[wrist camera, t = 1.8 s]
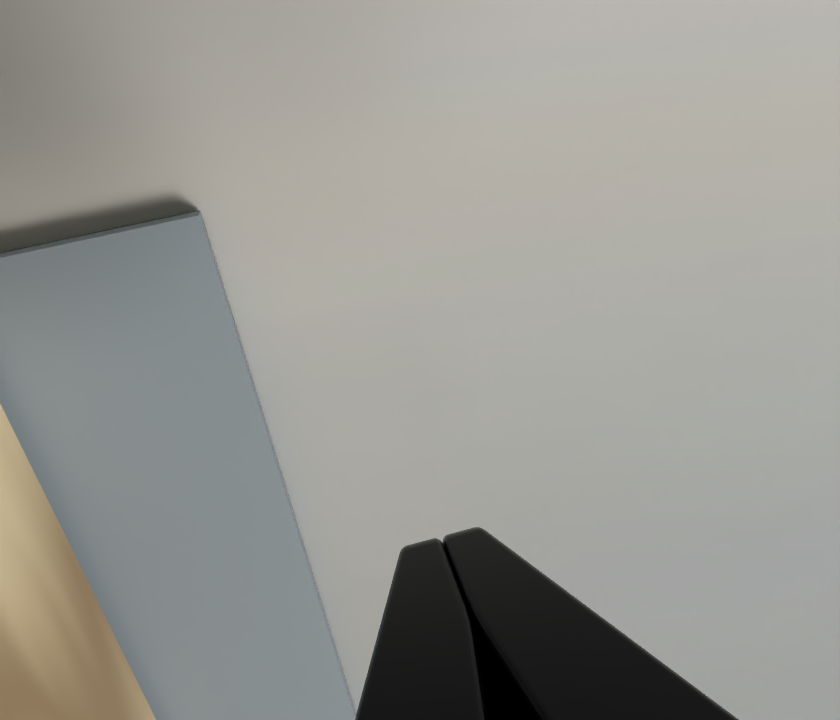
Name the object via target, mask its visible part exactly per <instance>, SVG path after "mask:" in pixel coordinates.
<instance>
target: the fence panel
mask: <svg viewBox="0 0 840 720" xmlns="http://www.w3.org/2000/svg"><path fill="white" fill-rule="evenodd" d="M0 720H156V718H155V716H154V714H153V712H152V710H151V708H150V706H149V704H148V702H147V700H146V698H145V696H144V694H143V692H142V690H141V688H140V686H139V684H138V682H137V680H136V678H135V676H134V674H133V672H132V670H131V668H130V666H129V664H128V662H127V660H126V658H125V656H124V654H123V652H122V650H121V647H120V645H119V643H118V641H117V639H116V637H115V635H114V633H113V631H112V629H111V627H110V625H109V623H108V621H107V619H106V617H105V615H104V613H103V611H102V609H101V607H100V605H99V603H98V601H97V599H96V597H95V595H94V593H93V591H92V589H91V587H90V585H89V583H88V581H87V578H86V576H85V574H84V572H83V570H82V568H81V566H80V564H79V562H78V560H77V558H76V556H75V554H74V552H73V550H72V548H71V546H70V544H69V542H68V540H67V538H66V536H65V534H64V532H63V530H62V528H61V526H60V524H59V522H58V520H57V518H56V516H55V514H54V512H53V510H52V507H51V505H50V503H49V501H48V499H47V497H46V495H45V493H44V491H43V489H42V487H41V485H40V483H39V481H38V479H37V477H36V475H35V473H34V471H33V469H32V467H31V465H30V463H29V461H28V459H27V457H26V455H25V453H24V451H23V449H22V447H21V445H20V443H19V441H18V439H17V436H16V434H15V432H14V430H13V428H12V426H11V424H10V422H9V420H8V418H7V416H6V414H5V412H4V410H3V408H2V406H1V404H0Z"/></svg>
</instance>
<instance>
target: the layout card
mask: <svg viewBox="0 0 840 720" xmlns="http://www.w3.org/2000/svg"><path fill="white" fill-rule="evenodd" d="M0 404H1V406H2V408H3V410H4V412H5V414H6V416H7V418H8V420H9V422H10V424H11V426H12V428H13V430H14V432H15V434H16V436H17V439H18V441H19V443H20V445H21V447H22V449H23V451H24V453H25V455H26V457H27V459H28V461H29V463H30V465H31V467H32V469H33V471H34V473H35V475H36V477H37V479H38V481H39V483H40V485H41V487H42V489H43V491H44V493H45V495H46V497H47V499H48V501H49V503H50V505H51V507H52V510H53V512H54V514H55V516H56V518H57V520H58V522H59V524H60V526H61V528H62V530H63V532H64V534H65V536H66V538H67V540H68V542H69V544H70V546H71V548H72V550H73V552H74V554H75V556H76V558H77V560H78V562H79V564H80V566H81V568H82V570H83V572H84V574H85V576H86V578H87V581H88V583H89V585H90V587H91V589H92V591H93V593H94V595H95V597H96V599H97V601H98V603H99V605H100V607H101V609H102V611H103V613H104V615H105V617H106V619H107V621H108V623H109V625H110V627H111V629H112V631H113V633H114V635H115V637H116V639H117V641H118V643H119V645H120V647H121V650H122V652H123V654H124V656H125V658H126V660H127V662H128V664H129V666H130V668H131V670H132V672H133V674H134V676H135V678H136V680H137V682H138V684H139V686H140V688H141V690H142V692H143V694H144V696H145V698H146V700H147V702H148V704H149V706H150V708H151V710H152V712H153V714H154V716H155V718H156V720H355V718H356V712H355V709H354V706H353V703H352V699H351V696H350V693H349V690H348V687H347V683H346V680H345V677H344V674H343V670H342V667H341V664H340V661H339V657H338V654H337V651H336V648H335V645H334V641H333V638H332V635H331V632H330V628H329V625H328V622H327V619H326V615H325V612H324V609H323V606H322V603H321V599H320V596H319V593H318V590H317V586H316V583H315V580H314V577H313V573H312V570H311V567H310V564H309V561H308V557H307V554H306V551H305V548H304V544H303V541H302V538H301V535H300V531H299V528H298V525H297V522H296V519H295V515H294V512H293V509H292V506H291V502H290V499H289V496H288V493H287V489H286V486H285V483H284V480H283V477H282V473H281V470H280V467H279V464H278V460H277V457H276V454H275V451H274V447H273V444H272V441H271V438H270V435H269V431H268V428H267V425H266V422H265V418H264V415H263V412H262V409H261V405H260V402H259V399H258V396H257V393H256V389H255V386H254V383H253V380H252V376H251V373H250V370H249V367H248V364H247V360H246V357H245V354H244V351H243V347H242V344H241V341H240V338H239V334H238V331H237V328H236V325H235V322H234V318H233V315H232V312H231V309H230V305H229V302H228V299H227V296H226V292H225V289H224V286H223V283H222V280H221V276H220V273H219V270H218V267H217V263H216V260H215V257H214V254H213V250H212V247H211V244H210V241H209V238H208V234H207V231H206V228H205V225H204V221H203V218H202V215H201V212H200V211H196V212H191V213H186V214H182V215H177V216H172V217H168V218H163V219H158V220H154V221H149V222H144V223H140V224H135V225H130V226H126V227H121V228H116V229H112V230H107V231H102V232H98V233H93V234H88V235H84V236H79V237H74V238H70V239H65V240H60V241H56V242H51V243H46V244H42V245H37V246H32V247H28V248H23V249H18V250H14V251H9V252H4V253H0Z"/></svg>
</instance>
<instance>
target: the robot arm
mask: <svg viewBox="0 0 840 720" xmlns="http://www.w3.org/2000/svg"><path fill="white" fill-rule="evenodd" d="M355 720H738V719H737V718H736V717H734V716H733V715H732V714H730V713H729V712H728V711H726V710H725V709H724V708H722V707H721V706H720V705H718V704H717V703H716V702H714V701H713V700H711V699H710V698H709V697H707V696H706V695H705V694H703V693H702V692H701V691H699V690H698V689H697V688H695V687H694V686H693V685H691V684H690V683H689V682H687V681H686V680H685V679H683V678H682V677H681V676H679V675H678V674H677V673H675V672H674V671H673V670H671V669H670V668H669V667H667V666H666V665H665V664H663V663H662V662H661V661H659V660H658V659H657V658H655V657H654V656H653V655H651V654H650V653H649V652H647V651H646V650H645V649H643V648H642V647H641V646H639V645H638V644H637V643H635V642H634V641H633V640H631V639H630V638H629V637H627V636H626V635H624V634H623V633H622V632H620V631H619V630H618V629H616V628H615V627H614V626H612V625H611V624H610V623H608V622H607V621H606V620H604V619H603V618H602V617H600V616H599V615H598V614H596V613H595V612H594V611H592V610H591V609H590V608H588V607H587V606H586V605H584V604H583V603H582V602H580V601H579V600H578V599H576V598H575V597H574V596H572V595H571V594H570V593H568V592H567V591H566V590H564V589H563V588H562V587H560V586H559V585H558V584H556V583H555V582H554V581H552V580H551V579H550V578H548V577H547V576H546V575H544V574H543V573H542V572H540V571H539V570H537V569H536V568H535V567H533V566H532V565H531V564H529V563H528V562H527V561H525V560H524V559H523V558H521V557H520V556H519V555H517V554H516V553H515V552H513V551H512V550H511V549H509V548H508V547H507V546H505V545H504V544H503V543H501V542H500V541H499V540H497V539H496V538H495V537H493V536H492V535H491V534H489V533H488V532H487V531H485V530H484V529H482V528H479V527H475V528H471V529H467V530H463V531H460V532H456V533H452V534H448V535H446V536H445V537H444V539H443V544H442V542H441V541H440V540H439V539H436V538H434V539H430V540H426V541H422V542H419V543H415V544H411V545H407V546H405V547H404V548H403V549H402V550H401V552H400V554H399V558H398V562H397V565H396V569H395V573H394V577H393V580H392V584H391V588H390V592H389V595H388V599H387V603H386V606H385V610H384V614H383V618H382V621H381V625H380V629H379V632H378V636H377V640H376V644H375V647H374V651H373V655H372V658H371V662H370V666H369V670H368V673H367V677H366V681H365V685H364V688H363V692H362V696H361V699H360V703H359V707H358V711H357V714H356V718H355Z"/></svg>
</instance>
